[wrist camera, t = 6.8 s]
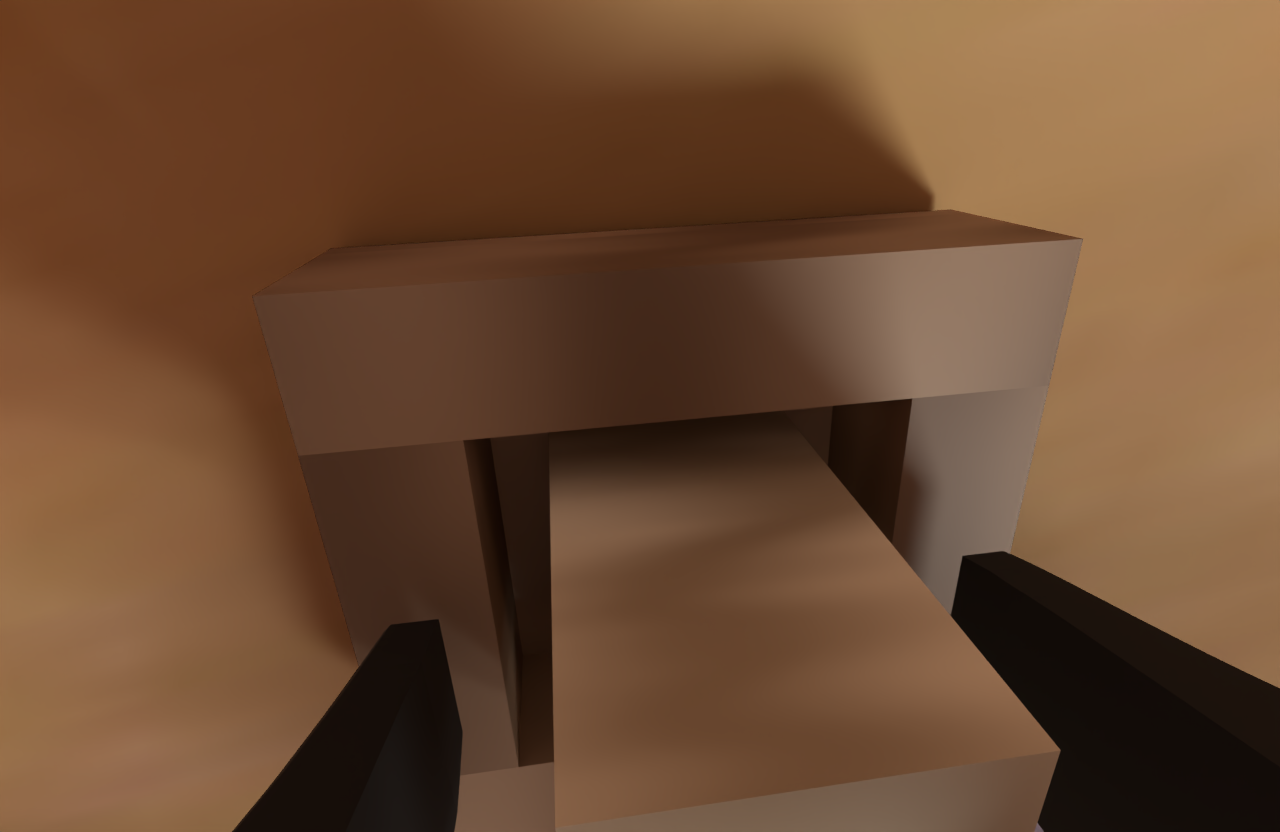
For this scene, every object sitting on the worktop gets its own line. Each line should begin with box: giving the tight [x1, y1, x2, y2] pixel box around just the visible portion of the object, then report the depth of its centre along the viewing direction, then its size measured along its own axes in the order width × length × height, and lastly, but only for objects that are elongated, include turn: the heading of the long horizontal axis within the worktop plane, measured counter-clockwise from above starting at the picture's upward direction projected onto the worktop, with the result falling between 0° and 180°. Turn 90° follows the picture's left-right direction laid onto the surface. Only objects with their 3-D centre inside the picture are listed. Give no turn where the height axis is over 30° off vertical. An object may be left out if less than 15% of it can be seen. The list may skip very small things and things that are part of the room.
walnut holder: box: [252, 210, 1083, 832], centre depth 11 cm, size 10×10×3 cm
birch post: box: [549, 411, 1061, 832], centre depth 9 cm, size 4×4×7 cm
